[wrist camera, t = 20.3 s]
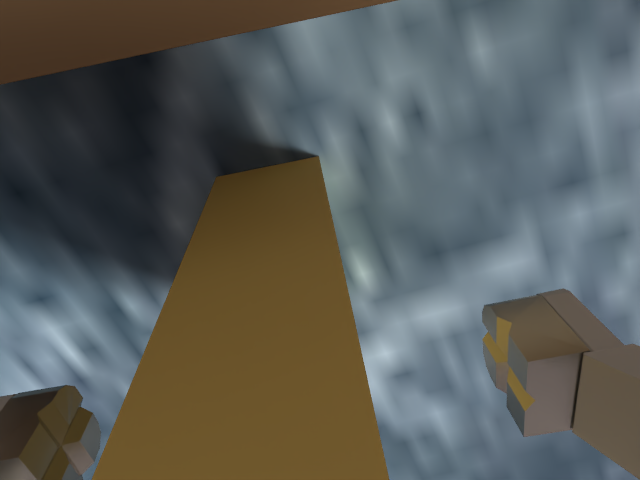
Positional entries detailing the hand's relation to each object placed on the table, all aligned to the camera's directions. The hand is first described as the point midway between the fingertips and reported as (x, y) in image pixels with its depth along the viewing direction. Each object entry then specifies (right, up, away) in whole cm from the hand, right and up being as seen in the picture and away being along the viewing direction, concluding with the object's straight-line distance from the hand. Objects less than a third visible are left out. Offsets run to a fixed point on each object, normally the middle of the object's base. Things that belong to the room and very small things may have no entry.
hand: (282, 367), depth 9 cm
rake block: (0, +2, +5) cm, 6 cm away
